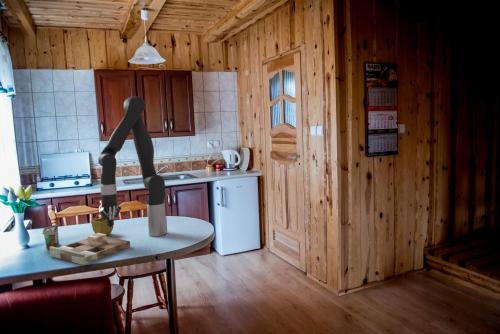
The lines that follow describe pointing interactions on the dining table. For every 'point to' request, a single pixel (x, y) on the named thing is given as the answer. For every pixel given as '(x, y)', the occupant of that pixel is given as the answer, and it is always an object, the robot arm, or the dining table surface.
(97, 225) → the flower pot
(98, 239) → the block
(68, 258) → the wooden puzzle tray
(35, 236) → the dining table surface
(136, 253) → the dining table surface
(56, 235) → the food container
